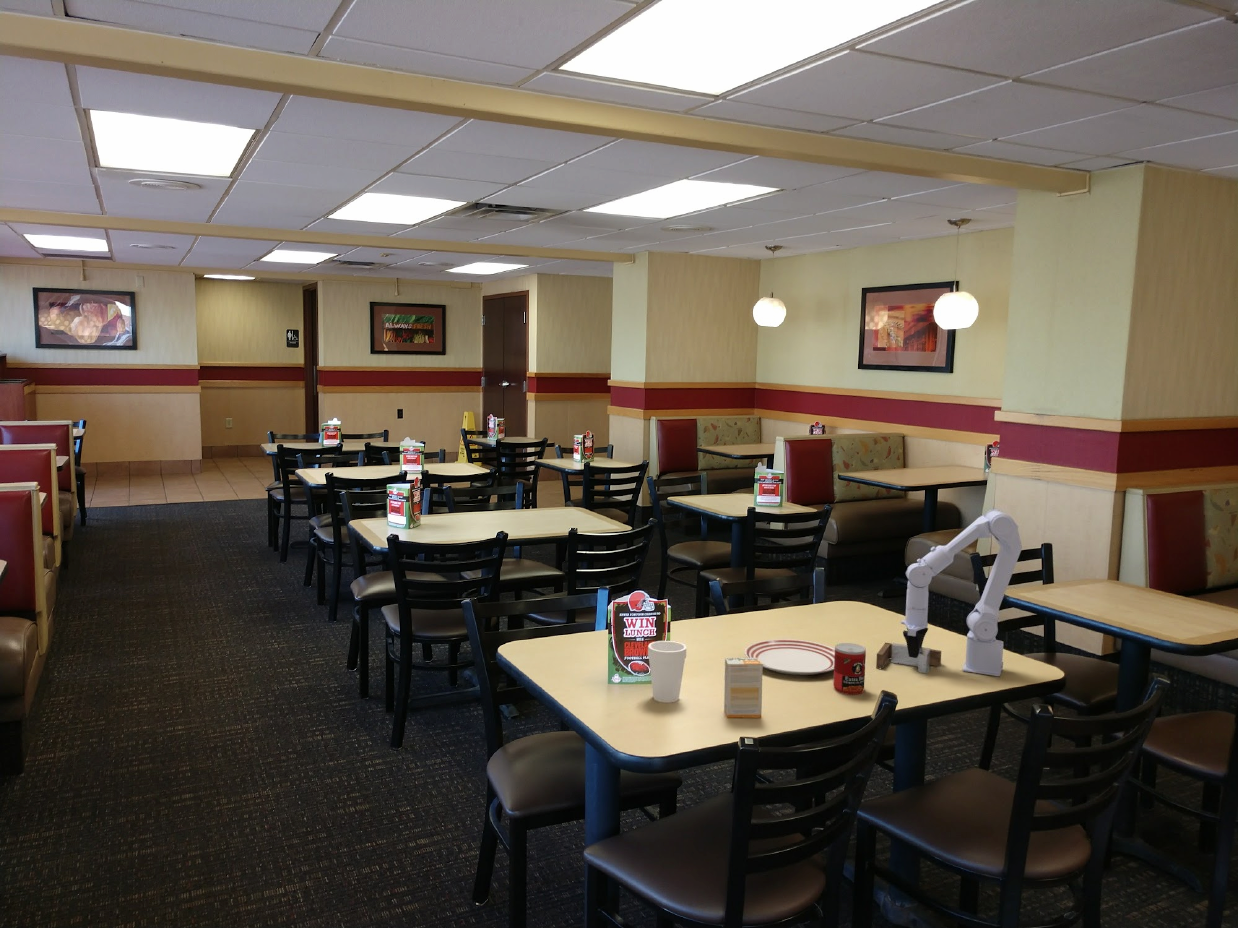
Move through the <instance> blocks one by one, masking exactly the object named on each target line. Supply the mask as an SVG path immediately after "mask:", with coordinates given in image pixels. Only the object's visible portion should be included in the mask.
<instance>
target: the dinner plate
mask: <svg viewBox="0 0 1238 928" xmlns="http://www.w3.org/2000/svg"><path fill="white" fill-rule="evenodd" d="M744 655H745V658H759V659H760V661H761V662H762V664H763V668H765V669H767V670H770V671H772V670H773V672H775V671H776V673H781V674H784V673H785V674H784V675H791V676H792V675H795V676H808V675H817V674H823V673H827V672H830V671H834V656H835V647H831V646H829V645H826V644H823V643H819V642H815V641H810V640H804V639H803V640H802V639H793V638H791V639H790V638H780V639H779V638H777V639H766V640H765V639H764V640H761V641H756V642H753V643H752V644H748V645H747V646H746V647H745V649H744Z"/></svg>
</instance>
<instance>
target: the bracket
mask: <svg viewBox="0 0 1238 928" xmlns="http://www.w3.org/2000/svg"><path fill="white" fill-rule="evenodd" d="M930 649H932V648H930V647H923V646H922V647H920V649H919V653H918V657H917V658H913V657H909V654H908V648H907V644H903V643H895V642H893V643H892V657H891V660H890V661H891V663H894V664H898V663H899V665H904V664H905V665H906V666H911V665H912V667H917V666H918V667H917V668H918V669H917V672H918V673H921V674H926V672H927V670H928V668H929V669H930V667H931V665H930ZM929 666H930V667H929Z"/></svg>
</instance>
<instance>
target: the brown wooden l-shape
mask: <svg viewBox="0 0 1238 928" xmlns="http://www.w3.org/2000/svg"><path fill="white" fill-rule="evenodd" d="M892 644H893V643H892V642H884V644H883V645H882V647H880V649H879V650H878V652H877V653H876V663H875V665H876V666H875V667H876V669H879V668H881V669H880V670H882V669H883V668H884V666H885V665H886V664H887V662H888V661H889V660H890V658H891V657H892ZM885 663H886V664H885ZM941 665H942V650H940V649H933V648H931V649H930V666H936V667H941Z"/></svg>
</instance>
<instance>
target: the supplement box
mask: <svg viewBox="0 0 1238 928" xmlns="http://www.w3.org/2000/svg"><path fill="white" fill-rule="evenodd" d="M763 668H764V667H763V664H762V662H761V661H760V659H759V658H747V657H725V658H724V694H723V695H724V698H723V699H724V701H723V704H724V705H723V709H724V710H723V711H724V713H725V715H726V719H727V718H729V719H731V718H733V719H734V718H735V719H737V718H738V719H739V718H742V719H743V718H744V719H745V718H750V719H751V718H753V719H754V718H755V719H756V718H760V719H761V718H762V713H763V712H762V711H763V710H762V709H763V706H762V703H763V670H764V669H763Z"/></svg>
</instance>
